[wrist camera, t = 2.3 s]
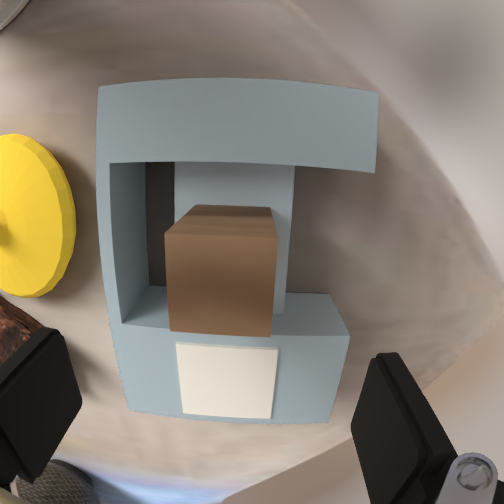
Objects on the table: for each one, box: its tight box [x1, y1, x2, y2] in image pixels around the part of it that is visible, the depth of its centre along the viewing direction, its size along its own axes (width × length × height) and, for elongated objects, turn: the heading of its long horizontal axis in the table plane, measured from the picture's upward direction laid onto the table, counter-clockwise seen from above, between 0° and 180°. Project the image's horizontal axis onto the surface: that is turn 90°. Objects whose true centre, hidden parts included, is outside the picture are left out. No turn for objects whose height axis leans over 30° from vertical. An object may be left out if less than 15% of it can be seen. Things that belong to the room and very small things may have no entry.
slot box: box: [96, 78, 379, 424], centre depth 23 cm, size 25×17×7 cm
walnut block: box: [164, 204, 278, 337], centre depth 19 cm, size 5×5×8 cm
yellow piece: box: [0, 133, 76, 298], centre depth 23 cm, size 16×16×7 cm
